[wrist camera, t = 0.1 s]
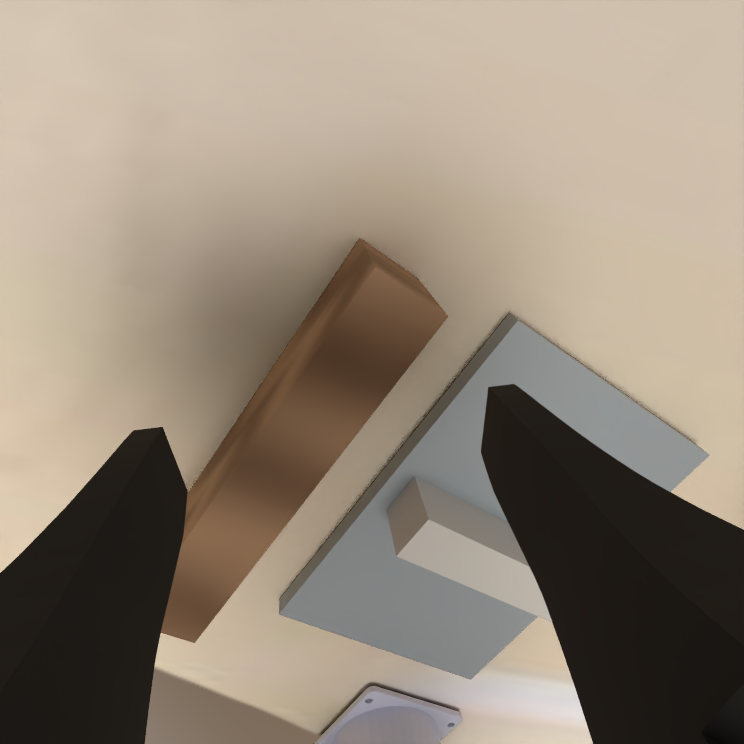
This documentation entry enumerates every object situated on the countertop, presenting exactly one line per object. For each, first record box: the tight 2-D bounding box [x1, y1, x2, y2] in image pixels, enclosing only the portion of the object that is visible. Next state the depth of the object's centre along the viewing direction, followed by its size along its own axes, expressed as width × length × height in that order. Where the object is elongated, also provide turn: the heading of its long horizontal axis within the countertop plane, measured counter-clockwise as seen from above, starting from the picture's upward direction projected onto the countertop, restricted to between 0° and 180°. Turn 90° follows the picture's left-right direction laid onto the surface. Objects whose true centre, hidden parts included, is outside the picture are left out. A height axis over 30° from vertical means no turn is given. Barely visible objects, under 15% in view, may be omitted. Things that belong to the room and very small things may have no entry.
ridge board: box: [279, 313, 709, 679], centre depth 25 cm, size 20×14×4 cm
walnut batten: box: [161, 238, 448, 643], centre depth 21 cm, size 18×3×5 cm, turn 145°
